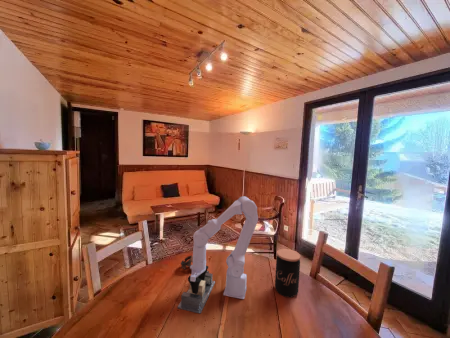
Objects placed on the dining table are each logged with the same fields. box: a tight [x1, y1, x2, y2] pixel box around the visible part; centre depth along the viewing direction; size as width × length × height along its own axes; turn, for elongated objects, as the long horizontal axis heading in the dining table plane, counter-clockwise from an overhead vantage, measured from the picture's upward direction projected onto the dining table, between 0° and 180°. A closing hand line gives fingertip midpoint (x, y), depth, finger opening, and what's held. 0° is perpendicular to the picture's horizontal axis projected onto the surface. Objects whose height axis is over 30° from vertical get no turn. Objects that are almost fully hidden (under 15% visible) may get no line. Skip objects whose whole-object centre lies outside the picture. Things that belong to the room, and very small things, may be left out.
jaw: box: [197, 270, 213, 285], centre depth 98 cm, size 8×7×4 cm
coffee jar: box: [274, 248, 301, 298], centre depth 94 cm, size 11×11×18 cm
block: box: [188, 280, 205, 297], centre depth 89 cm, size 6×4×5 cm, turn 77°
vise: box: [177, 280, 216, 315], centre depth 89 cm, size 10×20×5 cm, turn 167°
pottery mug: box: [180, 254, 193, 270], centre depth 109 cm, size 12×10×8 cm
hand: (198, 287), depth 89 cm, fingers open, 7 cm apart
